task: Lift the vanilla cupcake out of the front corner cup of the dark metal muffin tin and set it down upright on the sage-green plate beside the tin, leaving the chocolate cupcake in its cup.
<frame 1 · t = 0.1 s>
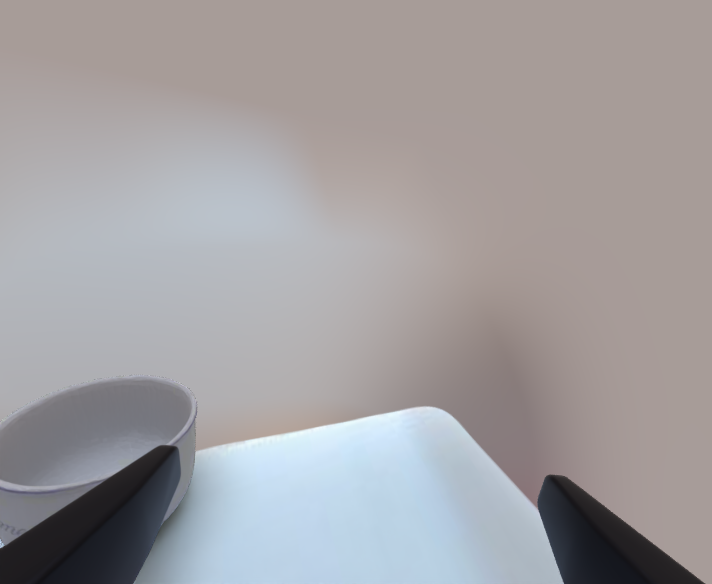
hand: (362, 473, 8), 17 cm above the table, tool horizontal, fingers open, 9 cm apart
teacup: (118, 531, 23), on the table
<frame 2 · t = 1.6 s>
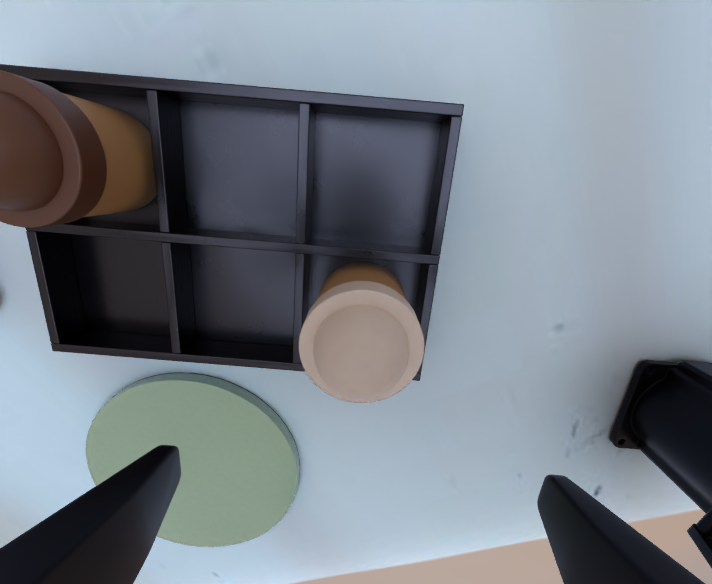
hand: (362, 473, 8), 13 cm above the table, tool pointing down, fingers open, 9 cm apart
plate: (198, 461, 25), on the table
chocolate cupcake: (115, 161, 18), resting on muffin tin
muffin tin: (248, 235, 20), on the table
vanilla cupcake: (361, 304, 20), resting on muffin tin
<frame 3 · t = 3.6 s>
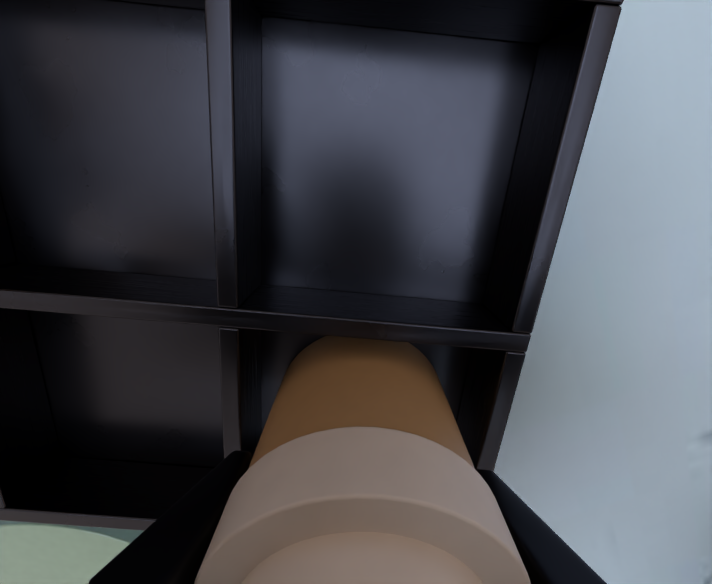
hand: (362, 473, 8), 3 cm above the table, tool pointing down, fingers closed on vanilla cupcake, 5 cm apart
muffin tin: (143, 276, 10), on the table
vanilla cupcake: (360, 401, 11), point 1 cm above the table, touching gripper, muffin tin
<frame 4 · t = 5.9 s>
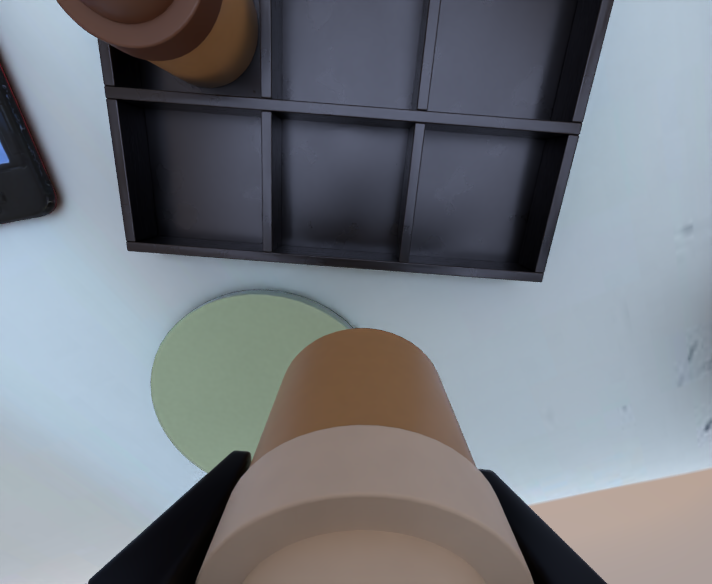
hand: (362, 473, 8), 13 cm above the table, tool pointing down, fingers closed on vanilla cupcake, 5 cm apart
plate: (270, 395, 23), on the table
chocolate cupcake: (203, 24, 16), resting on muffin tin
muffin tin: (346, 119, 17), on the table
vanilla cupcake: (361, 400, 11), point 10 cm above the table, touching gripper
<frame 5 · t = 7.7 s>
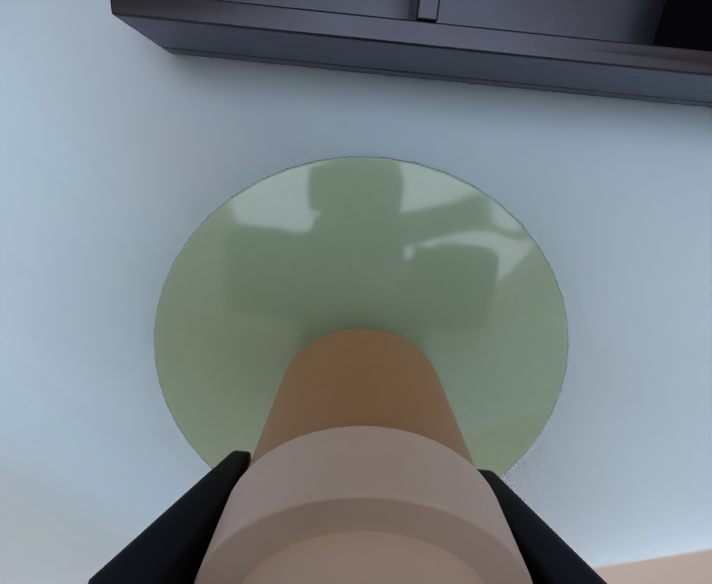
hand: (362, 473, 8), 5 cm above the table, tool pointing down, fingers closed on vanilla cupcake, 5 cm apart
plate: (360, 363, 13), on the table
vanilla cupcake: (360, 401, 11), point 2 cm above the table, touching gripper
when the fingers open (4 cm above the table, at t = 8.6 s): vanilla cupcake stays where it is, resting on plate.
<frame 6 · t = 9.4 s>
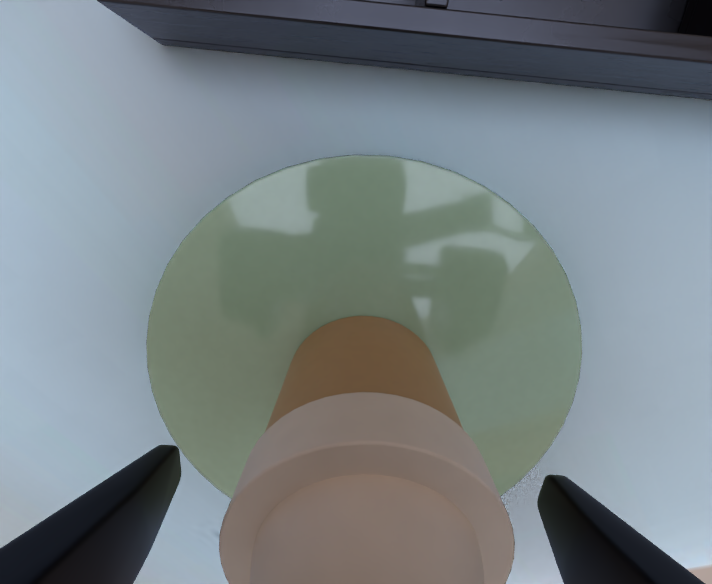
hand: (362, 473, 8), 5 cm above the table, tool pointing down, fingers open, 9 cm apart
plate: (362, 371, 13), on the table
vanilla cupcake: (363, 383, 12), point 1 cm above the table, touching plate
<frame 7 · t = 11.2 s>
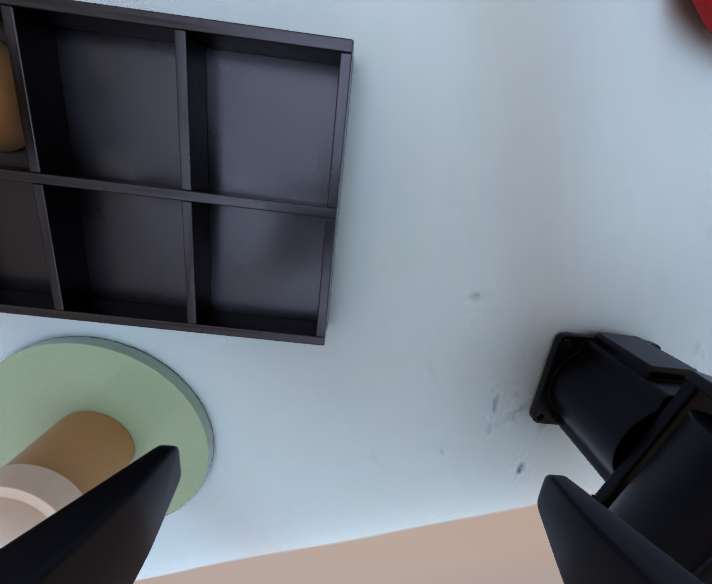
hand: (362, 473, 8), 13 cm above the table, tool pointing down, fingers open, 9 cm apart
plate: (104, 433, 23), on the table
muffin tin: (143, 185, 18), on the table
vanilla cupcake: (95, 442, 23), point 1 cm above the table, touching plate
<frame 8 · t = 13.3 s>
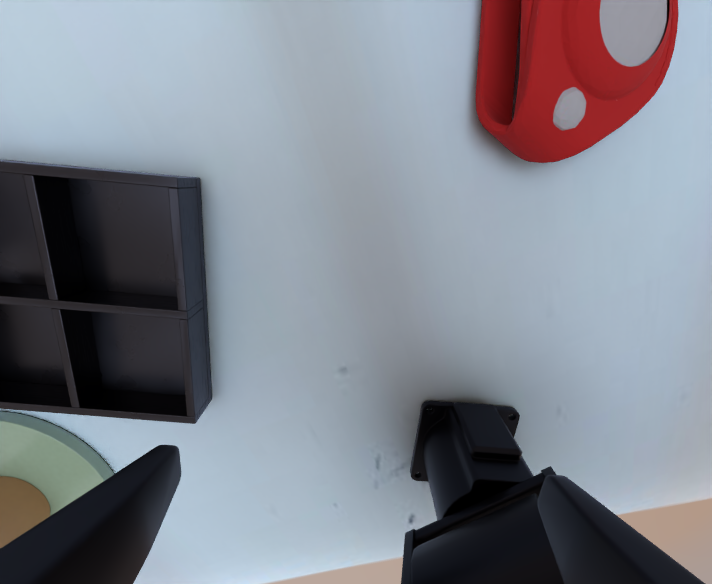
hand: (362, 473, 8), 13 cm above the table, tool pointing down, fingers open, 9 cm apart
plate: (26, 492, 26), on the table
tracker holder: (555, 17, 16), on the table
muffin tin: (31, 285, 21), on the table
vanilla cupcake: (14, 503, 25), point 1 cm above the table, touching plate
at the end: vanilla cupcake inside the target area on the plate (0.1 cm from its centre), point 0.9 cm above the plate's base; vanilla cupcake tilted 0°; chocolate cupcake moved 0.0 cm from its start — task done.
